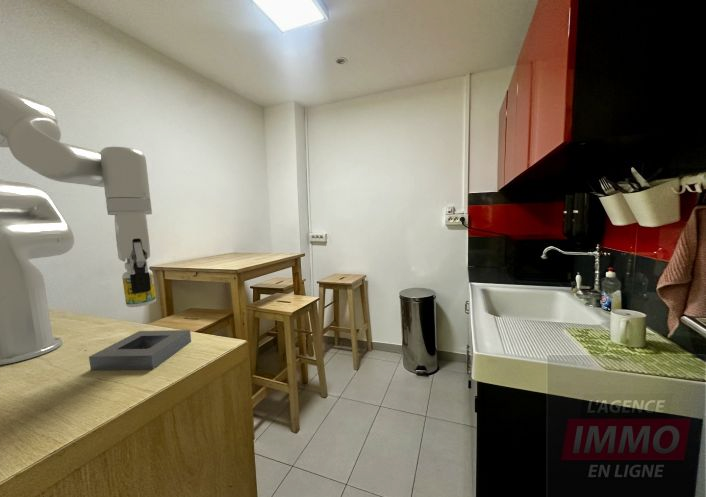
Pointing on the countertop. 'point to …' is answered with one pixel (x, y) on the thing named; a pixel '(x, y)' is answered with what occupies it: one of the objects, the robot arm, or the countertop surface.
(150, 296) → the supplement bottle
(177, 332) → the square hole block
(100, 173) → the robot arm
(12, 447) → the countertop surface
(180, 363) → the countertop surface
